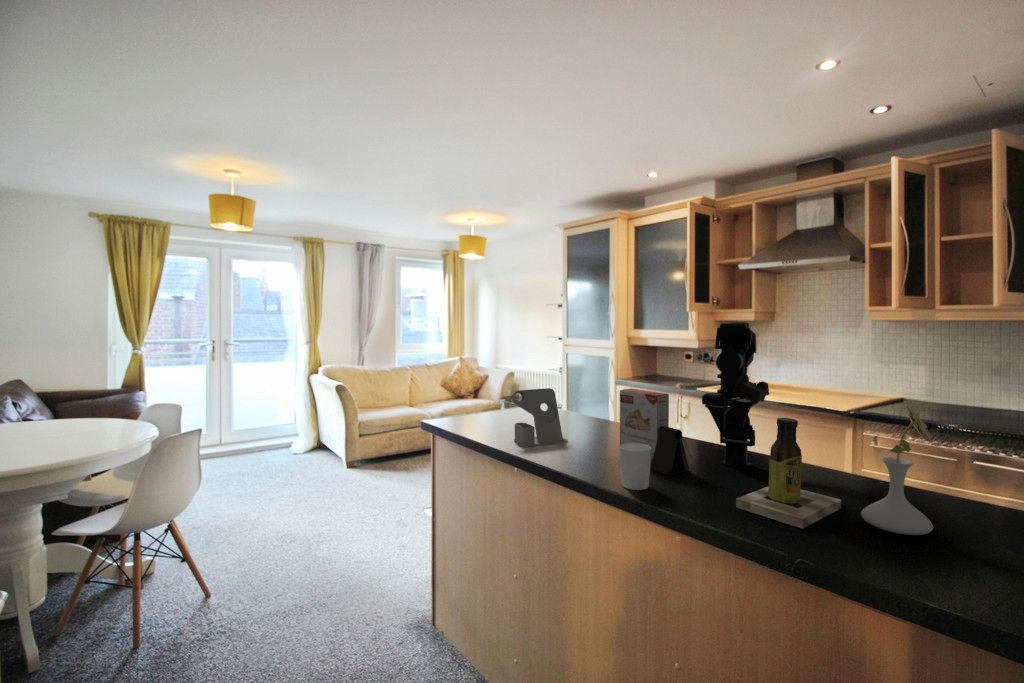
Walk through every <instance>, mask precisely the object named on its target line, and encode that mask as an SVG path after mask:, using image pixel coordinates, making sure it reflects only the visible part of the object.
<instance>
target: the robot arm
mask: <svg viewBox="0 0 1024 683" xmlns="http://www.w3.org/2000/svg"><path fill="white" fill-rule="evenodd" d="M757 345H758V344H757V335H756V333H755V332H754V331H753V330H752V329H751V328H750V323H749V322H746V321H733V322H728V323H727V322H725V323H722V322H721V323H720V324H719V327H717V328H716V335H715V344H714V348H715V350H721V351H720V353H719V354H718V355H717V357H716V360H715V365H716V367H717V369H718V370H719V371H720V373H718V374H716V375H717V376H716V378H717V379H720V389H717V390H716V392H707V393H704V394H703V395H702V396H701V404H702V405H704V407H705V408H707V410H708V412H709V413H710V415H711V417H712V420H713V421H714V423H715V426H716V427H717V429H718V431H719V443H720V444H724V445H725V447H724V448H725V449H724V460H721V461H719V464H721V465H725V466H727V467H728V466H729V467H733V468H736V469H744V468H747V467H750V466H753V465H754V464H753V463H752V462H749V461H748V447H750V448H752V447H755V446H756V430H755V429H754V427H753V424H752V425H751V421H750V420H751V419H750V416H749V413H750V411H751V408H753V407H754V406H756V405H757V404H759V403H760V402H762V403H763V402H765V399H766V397H767V396H770V388H769V383H768V382H765V381H763V380H762V381H758V383H757V382H752V381H750V376H748V368H749V366H750V365H751V363H753V361H754V357H755V356H754V355H755V354H757V347H758V346H757Z"/></svg>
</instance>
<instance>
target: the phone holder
mask: <svg viewBox="0 0 1024 683" xmlns="http://www.w3.org/2000/svg"><path fill="white" fill-rule="evenodd" d="M555 392H556V391H555V390H554V389H553V388H550V387H548V388H534V389H531V388H530V389H521V390H520V389H519V390H516V391H514V392H513V393H512V395H511V396H512V397H511V398H512V399H511V400H512V403H513V404H514V405H516V406H518V407H519V408H521V409H522V410H524V411H525V412H527V413H528V414H530V415H532V416H533V422H534V426H533V425H531V424H529V423H527V422H516V423H514V439H513V442H514V443H515V444H517V445H518V446H520V447H521V446H522V447H523V448H533V447H541V446H550V445H558V444H565V443H568V439H567V438H564V437H563V432H562V426H561V425H562V424H561V418H560V416H559V414H560V413H559V409H558V408H559V407H558V403H557V397H556V393H555ZM517 394H519V395H520V396H521V399H520V400H517V398H516V395H517ZM542 404H545V405H546V406H547V409H546V410H543V409H542V408H541V405H542Z"/></svg>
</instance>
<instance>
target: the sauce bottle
mask: <svg viewBox="0 0 1024 683" xmlns="http://www.w3.org/2000/svg"><path fill="white" fill-rule="evenodd" d="M776 426H777V429H776V432H777V433H776V440H775V441H774V442H773V444H772V445H771V447H770V457H769V468H768V469H769V471H768V474H769V475H768V486H769V489H768V497H769V500H772V501H775V502H779V503H782V504H786V505H789V506H792V507H796V508H800V505H799V502H800V492H801V489H802V488H801V487H802V486H801V485H802V465H803V464H802V462H803V455H802V450H801V448H800V445H799V444H798V442H797V428H798V420H797V419H795V418H792V417H791V418H790V417H777V419H776Z"/></svg>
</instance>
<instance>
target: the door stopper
mask: <svg viewBox="0 0 1024 683" xmlns="http://www.w3.org/2000/svg"><path fill="white" fill-rule="evenodd" d="M650 471H652V472H656V473H658V474H662V475H665V476H672V475H677V474H680V473H681V474H682V473H685V472H689V471H690V468H689V463H688V459H687V455H686V451H685V447H684V444H683V431H682V430H681V429H678V428H673V427H670V426H669V427H666V426H663V427H662V426H660V427H659V429H658V440H657V444H656V448H655V452H654V456H653V460H652V464H651V465H650Z"/></svg>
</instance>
